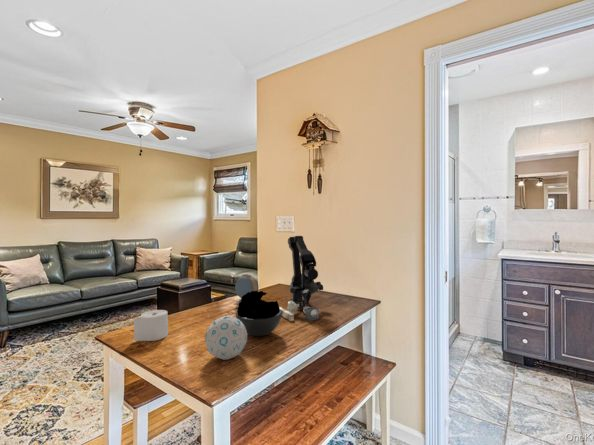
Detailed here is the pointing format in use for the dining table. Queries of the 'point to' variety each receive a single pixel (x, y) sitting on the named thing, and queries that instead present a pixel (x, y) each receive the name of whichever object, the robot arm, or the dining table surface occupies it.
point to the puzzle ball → (226, 337)
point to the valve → (295, 305)
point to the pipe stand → (311, 313)
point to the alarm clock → (245, 286)
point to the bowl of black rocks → (258, 314)
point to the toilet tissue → (151, 326)
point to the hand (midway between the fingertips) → (307, 304)
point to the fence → (287, 314)
